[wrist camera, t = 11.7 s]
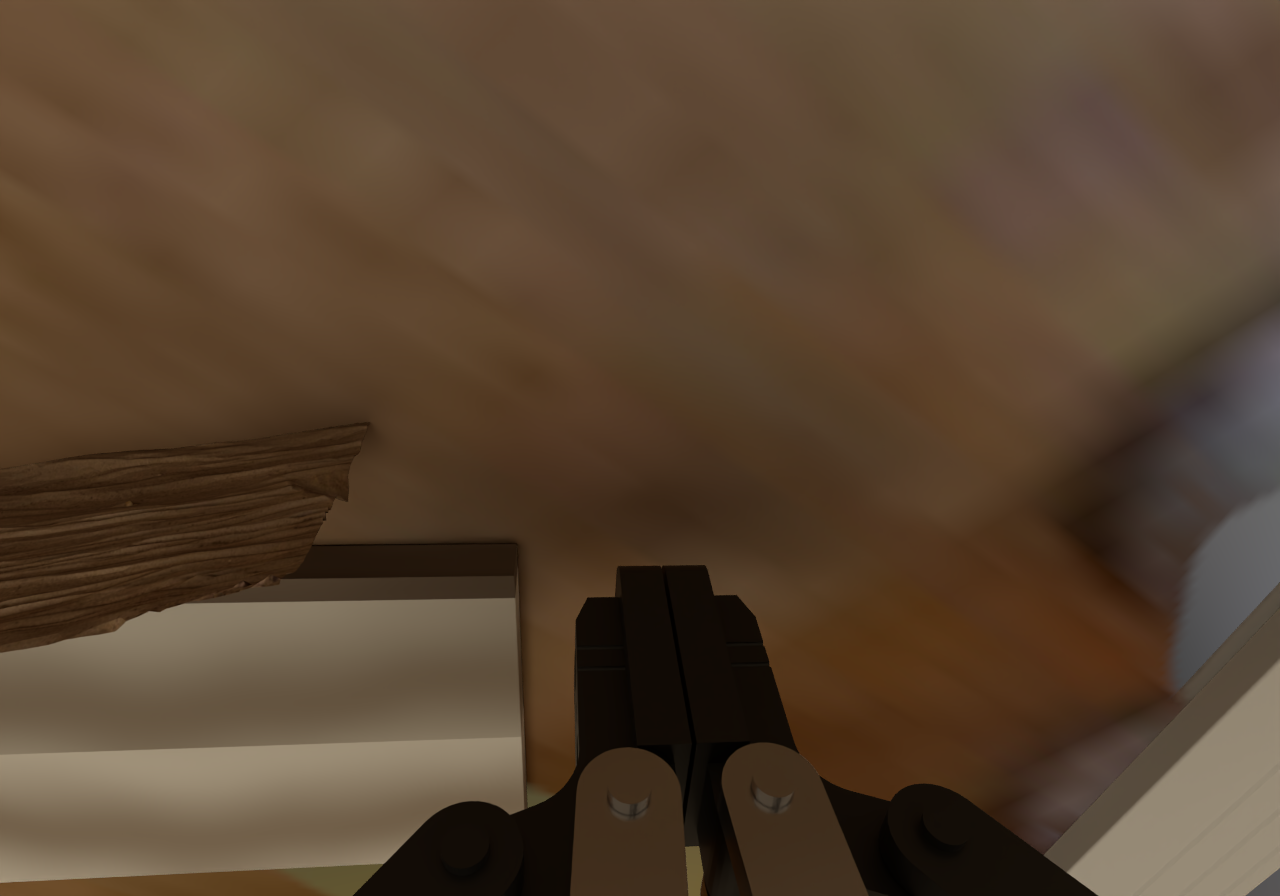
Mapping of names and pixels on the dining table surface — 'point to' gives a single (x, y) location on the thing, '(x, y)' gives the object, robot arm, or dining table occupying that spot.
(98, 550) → the driftwood piece
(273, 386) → the dining table surface
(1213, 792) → the baseboard
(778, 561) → the dining table surface
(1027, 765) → the dining table surface
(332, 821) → the floor panel
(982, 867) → the robot arm
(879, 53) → the dining table surface
